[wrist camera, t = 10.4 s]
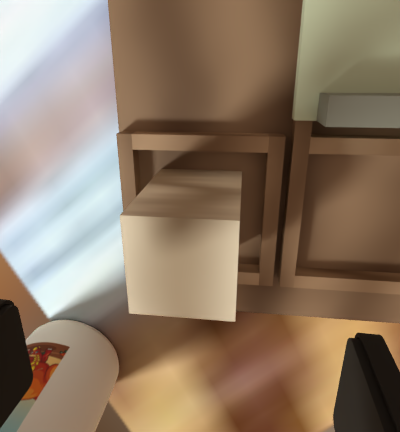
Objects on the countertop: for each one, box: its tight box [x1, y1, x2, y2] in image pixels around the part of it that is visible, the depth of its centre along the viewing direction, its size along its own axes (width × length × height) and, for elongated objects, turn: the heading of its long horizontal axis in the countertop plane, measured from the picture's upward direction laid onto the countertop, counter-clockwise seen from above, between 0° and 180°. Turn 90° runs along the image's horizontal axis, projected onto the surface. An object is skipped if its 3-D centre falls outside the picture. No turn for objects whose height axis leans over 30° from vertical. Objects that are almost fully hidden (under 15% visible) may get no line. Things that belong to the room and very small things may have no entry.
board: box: [108, 0, 400, 323], centre depth 19 cm, size 18×20×3 cm
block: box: [120, 169, 242, 322], centre depth 17 cm, size 4×4×7 cm
